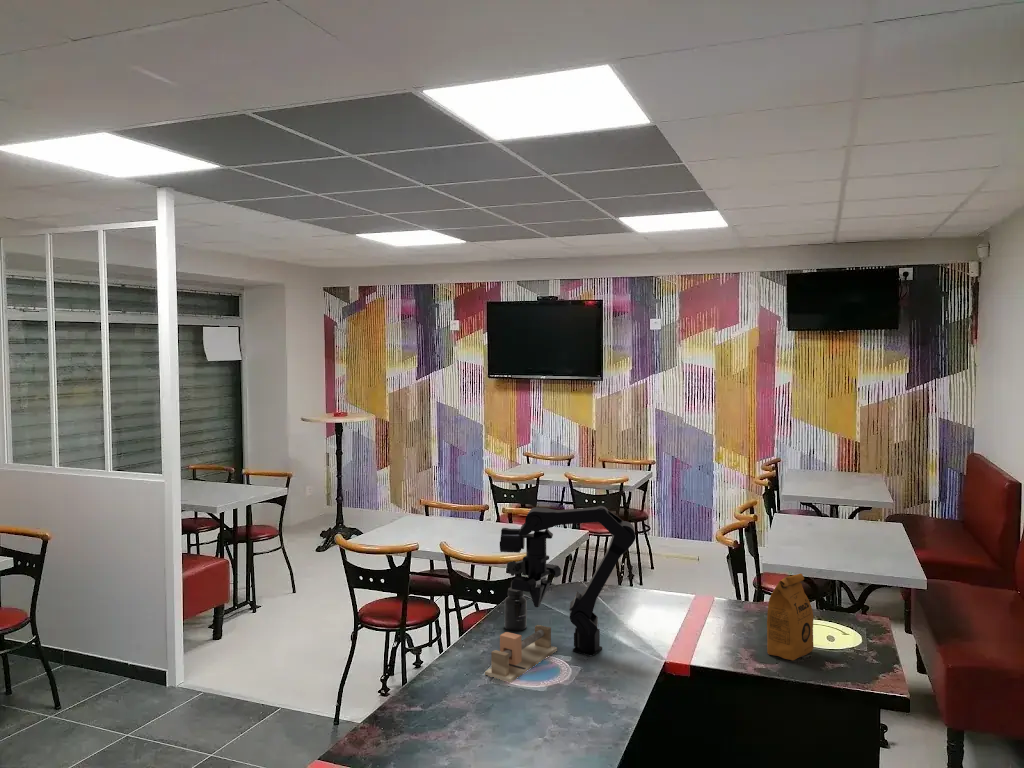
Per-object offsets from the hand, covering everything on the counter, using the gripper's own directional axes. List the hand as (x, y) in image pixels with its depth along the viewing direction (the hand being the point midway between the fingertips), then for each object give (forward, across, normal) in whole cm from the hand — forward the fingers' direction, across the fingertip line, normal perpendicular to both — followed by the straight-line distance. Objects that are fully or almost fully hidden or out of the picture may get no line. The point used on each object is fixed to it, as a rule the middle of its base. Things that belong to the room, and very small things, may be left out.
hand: (536, 606), depth 210 cm
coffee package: (+12, -33, +62) cm, 72 cm away
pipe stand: (+12, +11, +2) cm, 16 cm away
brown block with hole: (+10, +16, +2) cm, 19 cm away
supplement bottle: (+12, -11, -14) cm, 21 cm away
